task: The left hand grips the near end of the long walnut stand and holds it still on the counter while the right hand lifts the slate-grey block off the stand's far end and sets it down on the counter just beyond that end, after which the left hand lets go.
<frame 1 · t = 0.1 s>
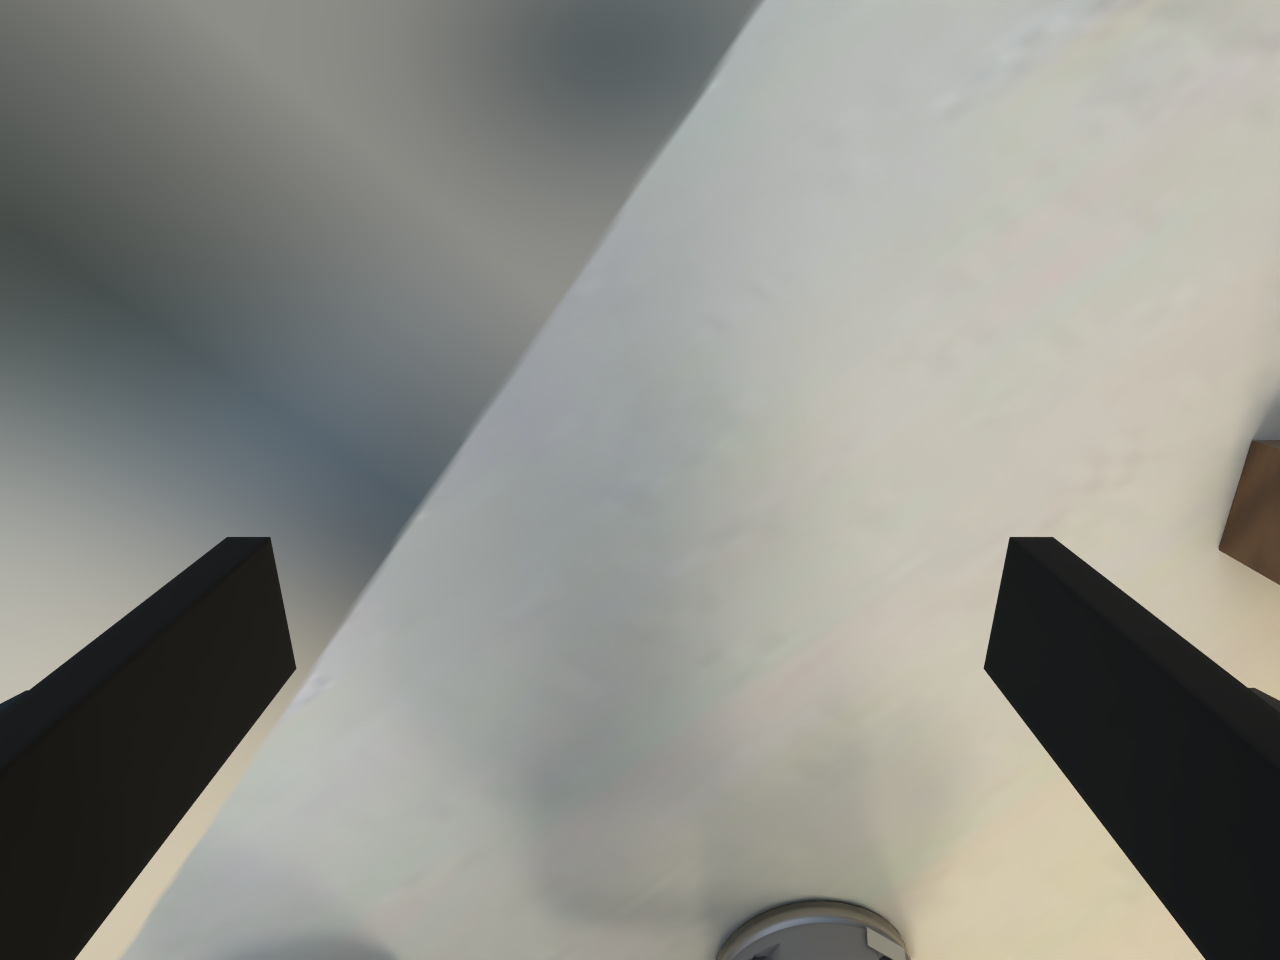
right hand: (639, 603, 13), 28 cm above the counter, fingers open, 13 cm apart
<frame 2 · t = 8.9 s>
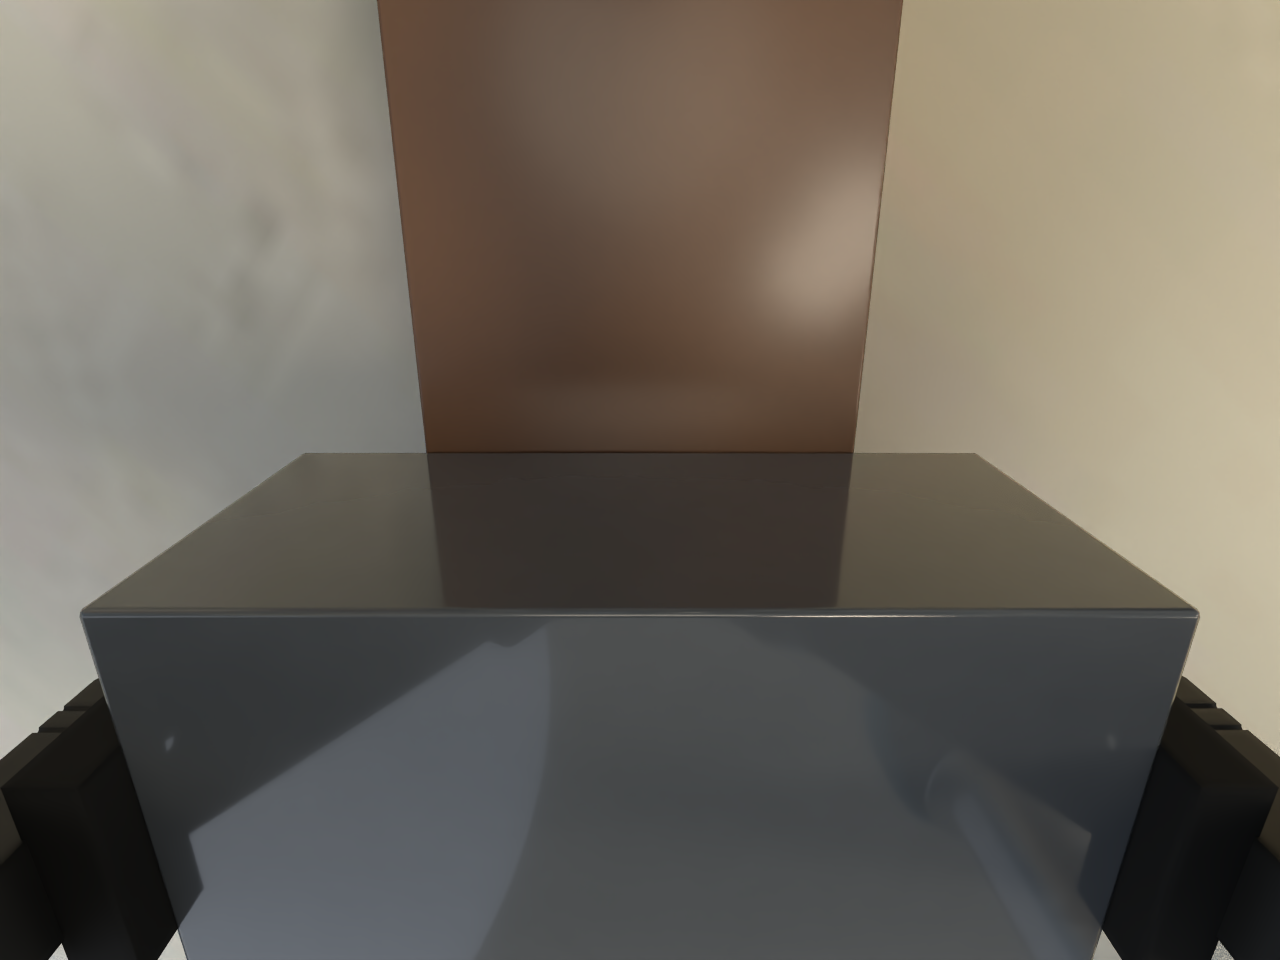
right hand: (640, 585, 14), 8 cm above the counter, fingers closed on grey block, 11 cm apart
grey block: (639, 612, 13), point 9 cm above the counter, touching right hand, walnut stand
walnut stand: (640, 69, 18), on the counter, touching grey block
when the right hand's fingers open (2 cm above the counter, at t = 16.5 s): grey block drops 3 cm, on the counter.
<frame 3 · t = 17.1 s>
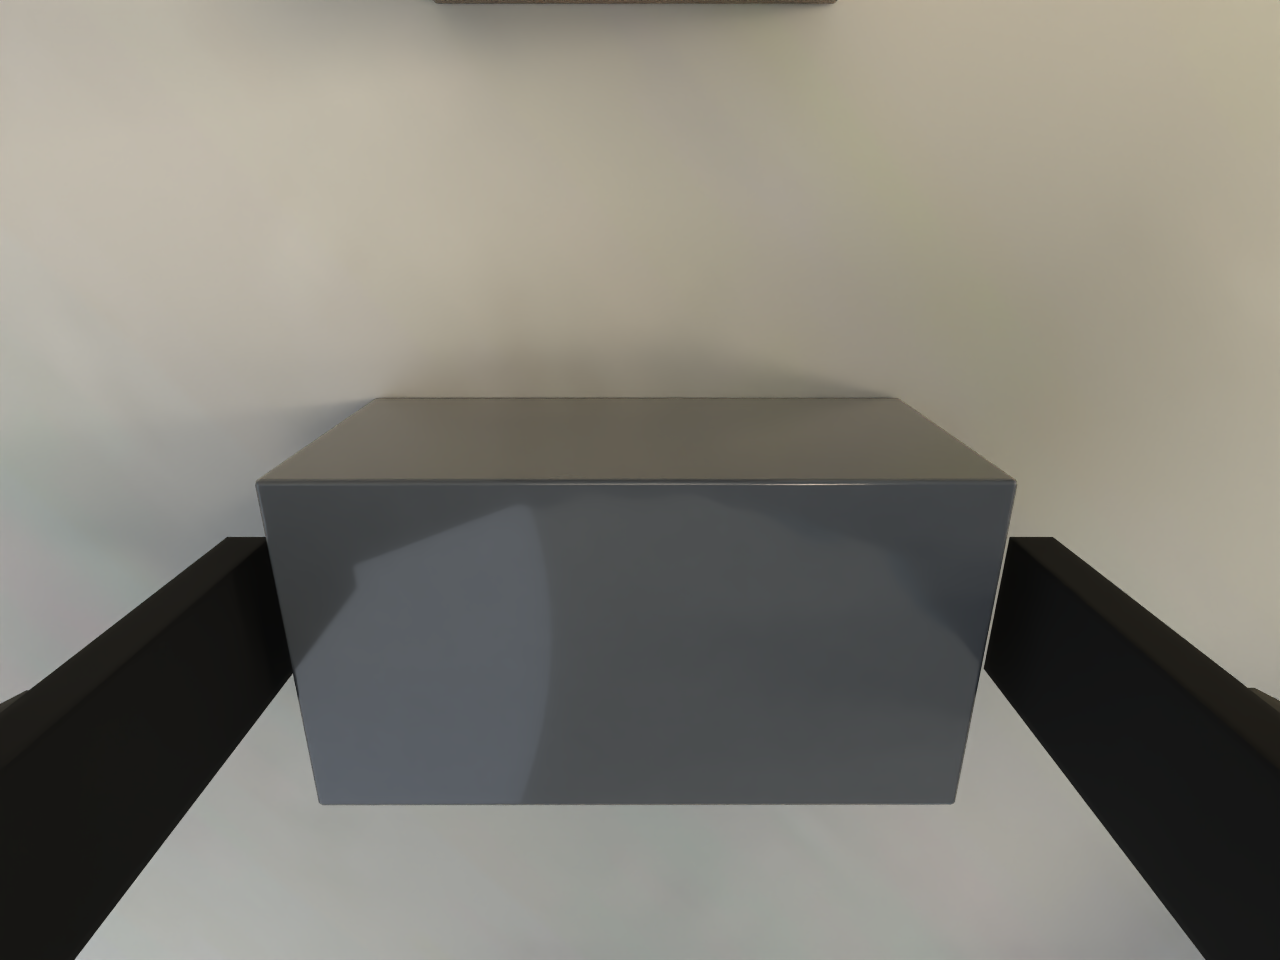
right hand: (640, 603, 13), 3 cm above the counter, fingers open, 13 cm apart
grey block: (637, 528, 16), on the counter
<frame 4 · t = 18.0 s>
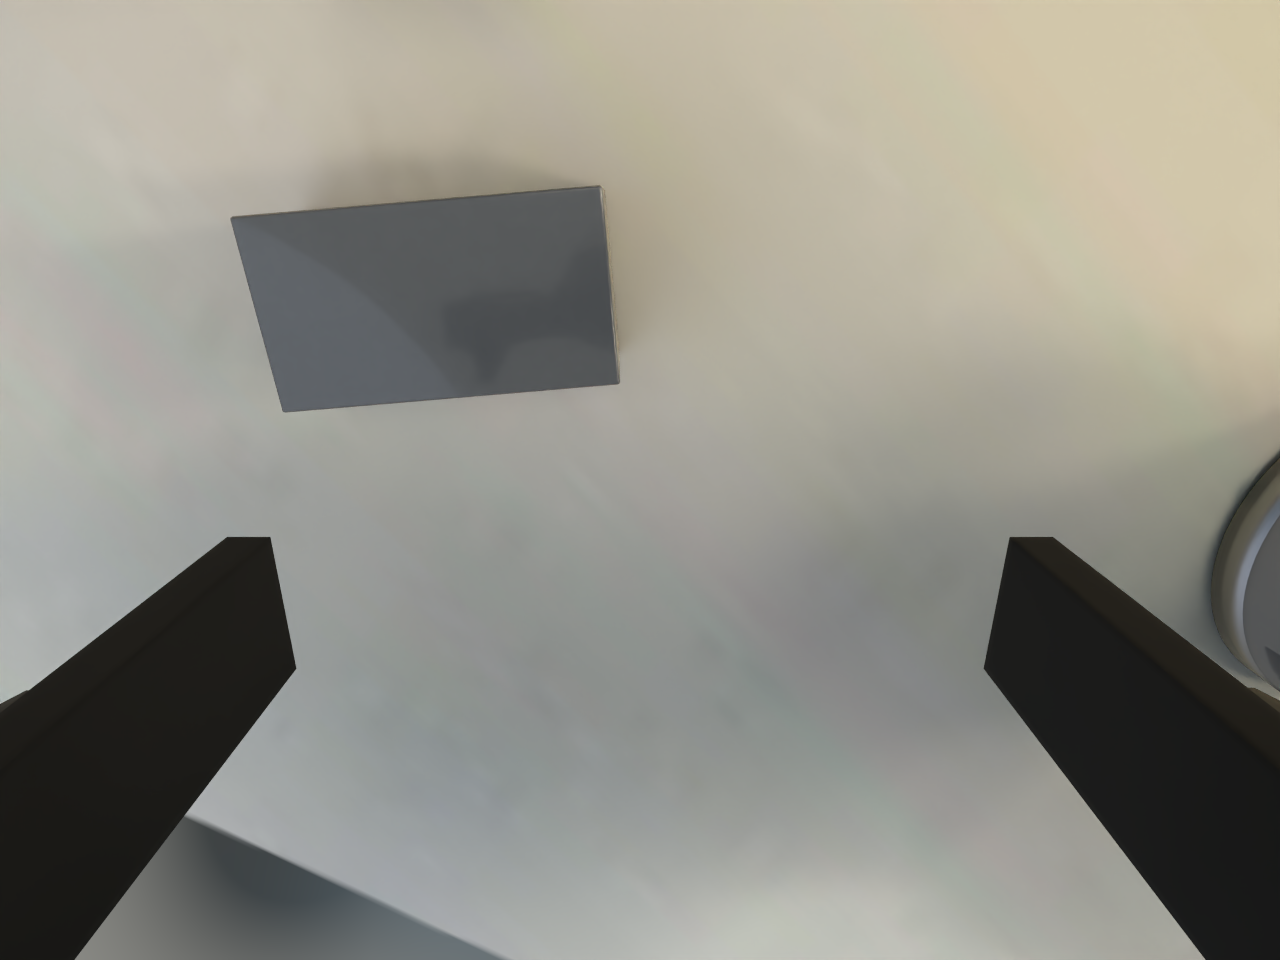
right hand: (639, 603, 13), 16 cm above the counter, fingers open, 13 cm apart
grey block: (466, 286, 27), on the counter
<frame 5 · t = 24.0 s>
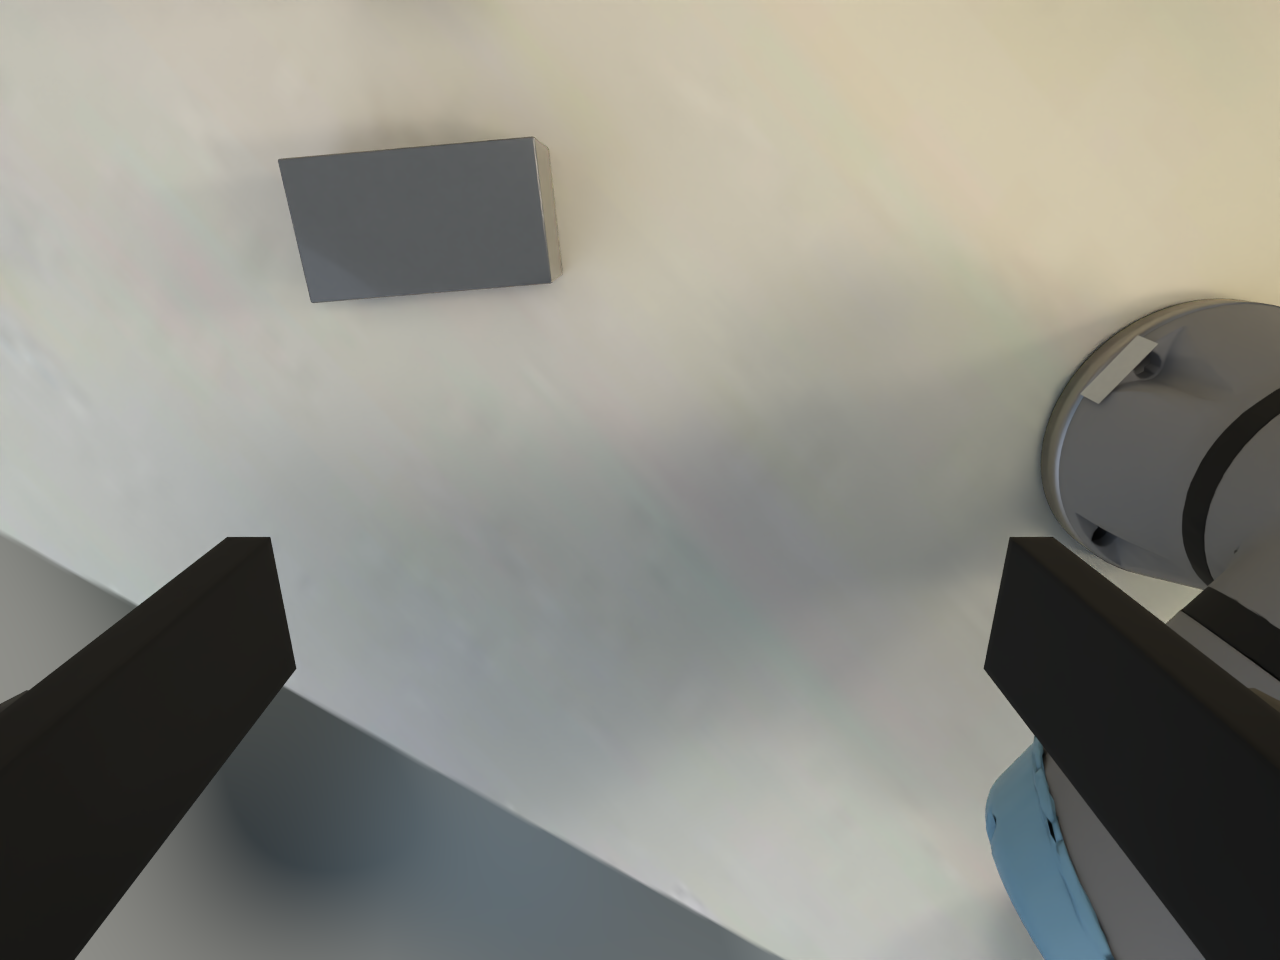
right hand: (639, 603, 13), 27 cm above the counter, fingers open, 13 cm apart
grey block: (447, 222, 36), on the counter
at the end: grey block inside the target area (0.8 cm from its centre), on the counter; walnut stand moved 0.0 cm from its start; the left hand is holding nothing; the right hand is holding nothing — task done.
